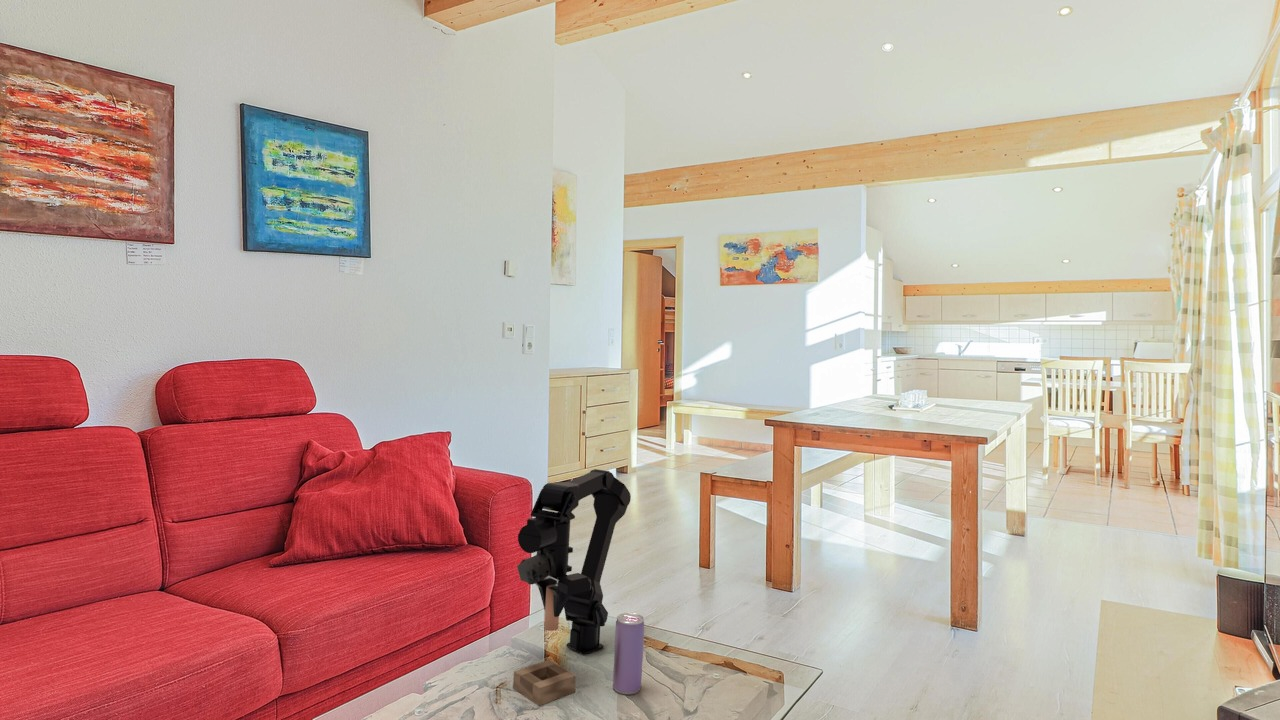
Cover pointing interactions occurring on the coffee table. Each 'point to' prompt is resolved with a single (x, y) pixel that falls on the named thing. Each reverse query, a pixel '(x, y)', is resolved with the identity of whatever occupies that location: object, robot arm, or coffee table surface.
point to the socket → (544, 682)
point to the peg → (550, 611)
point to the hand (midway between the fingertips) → (552, 614)
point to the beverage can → (628, 653)
